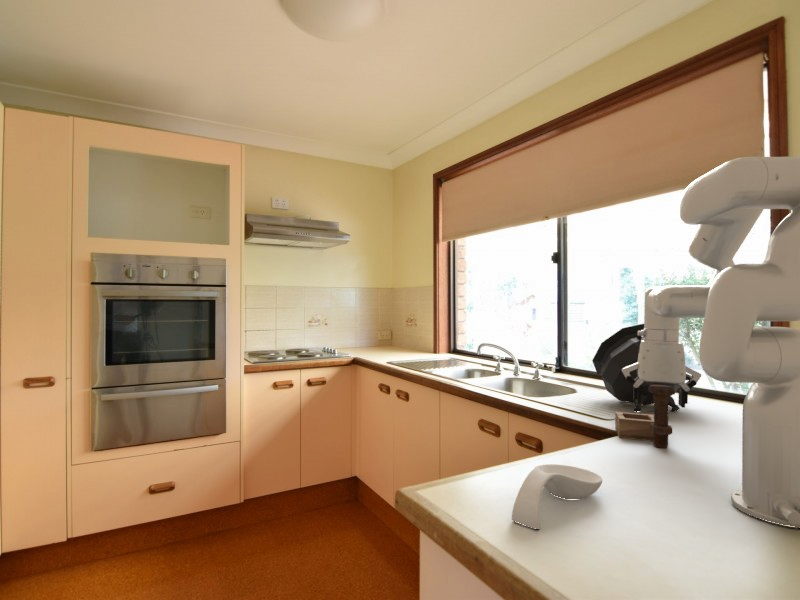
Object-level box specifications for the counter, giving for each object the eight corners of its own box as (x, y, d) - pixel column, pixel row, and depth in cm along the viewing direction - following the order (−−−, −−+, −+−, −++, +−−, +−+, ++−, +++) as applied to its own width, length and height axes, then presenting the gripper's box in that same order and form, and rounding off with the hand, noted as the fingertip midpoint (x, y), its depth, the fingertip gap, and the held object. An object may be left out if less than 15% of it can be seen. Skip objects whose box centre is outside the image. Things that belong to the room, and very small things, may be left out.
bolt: (676, 451, 108) (677, 389, 108) (653, 449, 109) (654, 388, 109) (667, 444, 114) (667, 384, 114) (645, 442, 115) (646, 383, 115)
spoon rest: (549, 476, 92) (549, 441, 92) (610, 492, 85) (610, 454, 85) (492, 517, 74) (493, 474, 74) (563, 543, 67) (563, 494, 67)
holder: (659, 441, 116) (660, 422, 116) (619, 437, 119) (619, 418, 119) (653, 432, 124) (653, 414, 124) (615, 429, 127) (615, 411, 127)
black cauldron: (612, 402, 139) (575, 348, 158) (640, 436, 155) (603, 383, 174) (697, 353, 132) (647, 303, 151) (718, 395, 147) (670, 344, 166)
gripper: (624, 336, 111) (623, 404, 111) (706, 339, 105) (704, 411, 106) (620, 333, 118) (619, 398, 119) (696, 336, 113) (695, 404, 113)
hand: (659, 404), depth 112 cm, fingers open, 9 cm apart
